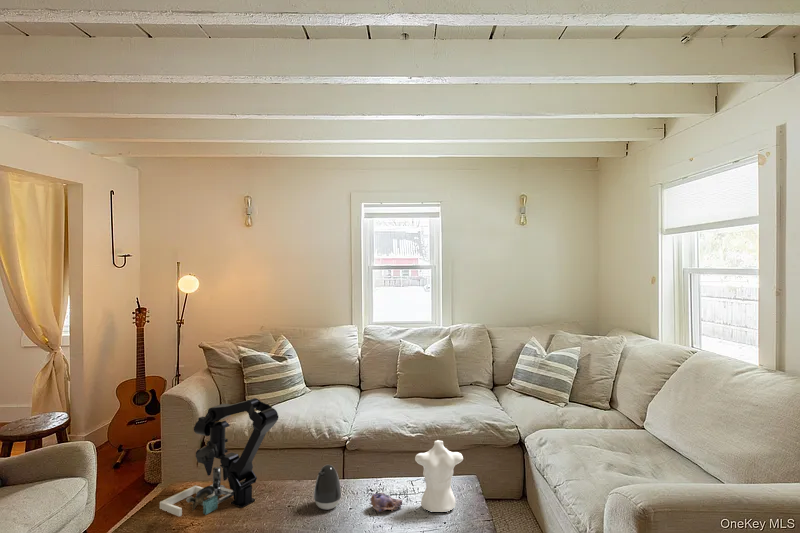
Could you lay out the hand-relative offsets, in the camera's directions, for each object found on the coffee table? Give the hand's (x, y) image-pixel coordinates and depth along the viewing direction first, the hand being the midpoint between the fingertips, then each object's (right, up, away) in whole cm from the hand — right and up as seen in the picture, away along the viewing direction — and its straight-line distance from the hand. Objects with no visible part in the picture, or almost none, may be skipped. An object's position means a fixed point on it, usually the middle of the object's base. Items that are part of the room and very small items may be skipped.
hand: (217, 477), depth 173 cm
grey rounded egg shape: (+45, -7, -9) cm, 46 cm away
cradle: (+1, -7, -1) cm, 7 cm away
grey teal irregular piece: (0, -6, -7) cm, 9 cm away
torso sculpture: (+87, -7, -9) cm, 87 cm away
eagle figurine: (-2, -7, -9) cm, 11 cm away
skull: (+67, -7, -11) cm, 69 cm away
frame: (-7, -6, -8) cm, 12 cm away
